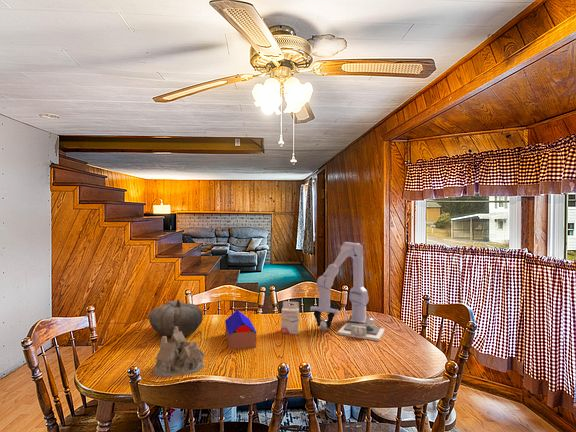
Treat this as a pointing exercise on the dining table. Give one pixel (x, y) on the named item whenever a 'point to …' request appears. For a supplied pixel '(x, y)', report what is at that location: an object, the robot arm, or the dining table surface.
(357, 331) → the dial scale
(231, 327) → the house
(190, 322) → the gourd
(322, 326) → the spacer
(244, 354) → the dining table surface
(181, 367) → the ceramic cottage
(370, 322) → the spacer
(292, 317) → the ink cartridge box
